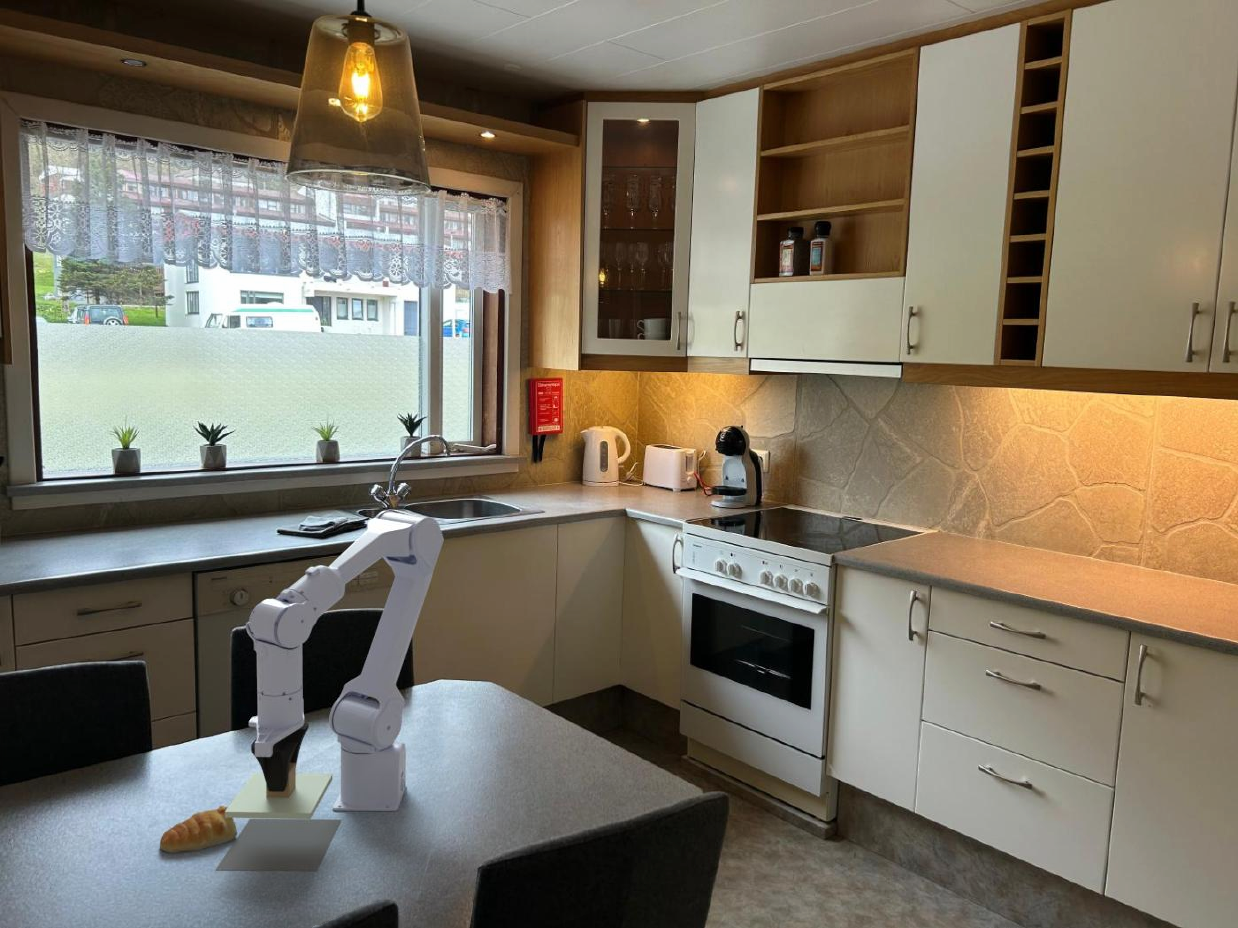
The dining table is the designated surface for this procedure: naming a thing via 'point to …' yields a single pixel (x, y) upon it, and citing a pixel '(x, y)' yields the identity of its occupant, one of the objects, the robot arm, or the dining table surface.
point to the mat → (280, 845)
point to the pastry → (199, 832)
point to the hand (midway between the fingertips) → (281, 783)
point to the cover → (280, 797)
